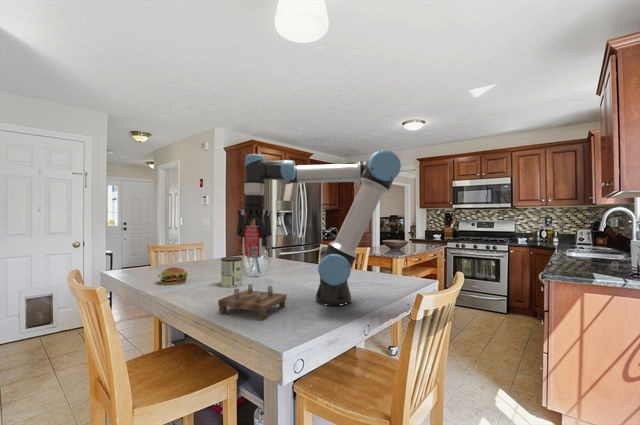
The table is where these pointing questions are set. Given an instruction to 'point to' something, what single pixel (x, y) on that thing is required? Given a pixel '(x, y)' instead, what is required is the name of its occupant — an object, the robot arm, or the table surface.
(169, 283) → the food
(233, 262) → the coffee can
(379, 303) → the table surface
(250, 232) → the soda can
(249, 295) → the peg shelf
